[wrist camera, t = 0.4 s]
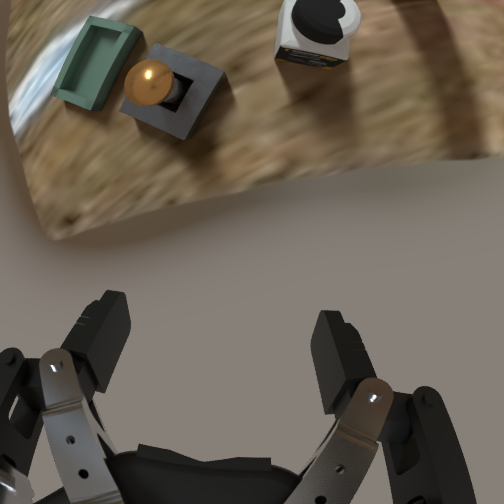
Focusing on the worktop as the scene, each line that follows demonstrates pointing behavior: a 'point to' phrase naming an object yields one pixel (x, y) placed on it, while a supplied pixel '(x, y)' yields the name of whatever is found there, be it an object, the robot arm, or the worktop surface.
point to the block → (194, 101)
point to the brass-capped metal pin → (153, 84)
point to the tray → (95, 62)
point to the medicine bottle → (316, 31)
